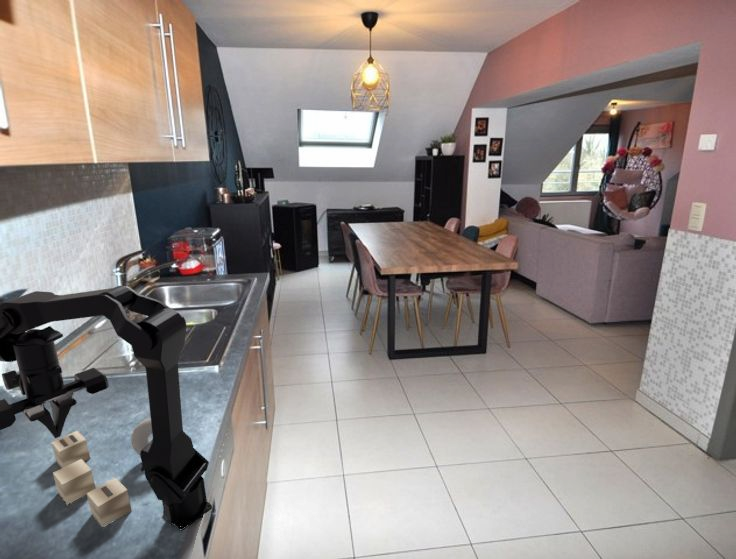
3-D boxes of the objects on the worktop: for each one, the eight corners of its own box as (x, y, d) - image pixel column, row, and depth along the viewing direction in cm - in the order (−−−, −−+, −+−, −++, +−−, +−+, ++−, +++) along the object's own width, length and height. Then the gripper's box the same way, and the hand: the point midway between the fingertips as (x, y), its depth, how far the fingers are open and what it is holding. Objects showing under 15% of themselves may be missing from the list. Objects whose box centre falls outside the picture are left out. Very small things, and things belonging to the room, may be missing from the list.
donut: (185, 448, 98) (179, 410, 95) (183, 458, 95) (176, 419, 92) (137, 455, 95) (129, 417, 93) (133, 466, 92) (125, 426, 89)
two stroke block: (81, 449, 98) (77, 430, 96) (90, 458, 95) (85, 439, 93) (56, 461, 94) (50, 441, 92) (64, 471, 91) (59, 451, 90)
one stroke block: (120, 498, 84) (115, 477, 82) (131, 511, 81) (127, 489, 80) (91, 515, 80) (86, 492, 79) (103, 528, 77) (97, 506, 76)
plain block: (86, 478, 89) (81, 458, 88) (96, 490, 86) (91, 469, 85) (58, 493, 85) (52, 472, 84) (67, 505, 82) (62, 484, 81)
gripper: (80, 333, 88) (94, 400, 93) (-41, 368, 75) (-18, 444, 79) (102, 349, 82) (116, 419, 87) (-26, 390, 68) (-1, 471, 73)
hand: (57, 436), depth 81 cm, fingers closed
